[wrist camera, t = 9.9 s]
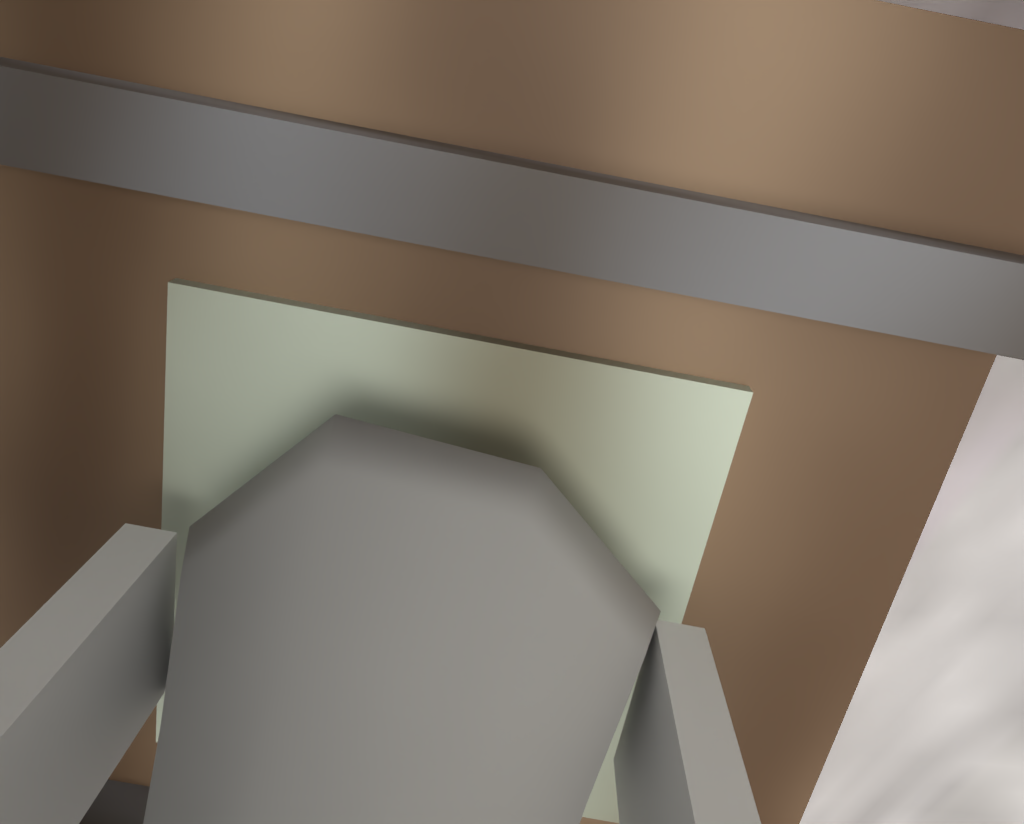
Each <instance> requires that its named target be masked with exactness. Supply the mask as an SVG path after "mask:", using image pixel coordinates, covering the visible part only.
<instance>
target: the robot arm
mask: <svg viewBox="0 0 1024 824" xmlns="http://www.w3.org/2000/svg"><path fill="white" fill-rule="evenodd" d="M176 550H177V532H171V531H166V530H160V529H155V528H149V527H144V526H138V525H133V524H127V523H125V524H124V525H123V526H122V527H121V528H120V529H119V530H118V531H117V532H116V533H115V534H114V535H113V536H112V537H111V538H110V539H109V540H108V541H107V542H106V543H105V544H104V545H103V546H102V547H101V548H100V549H99V550H98V551H97V552H96V553H95V554H94V555H93V556H92V557H91V558H90V559H89V560H88V561H87V562H86V563H85V564H84V565H83V566H82V567H81V568H80V569H79V570H78V571H77V572H76V573H75V574H74V575H73V576H72V577H71V578H70V579H69V580H68V581H67V582H66V583H65V584H64V585H63V586H62V587H61V588H60V589H59V590H58V591H57V592H56V593H55V594H54V595H53V596H52V597H51V598H50V599H49V600H48V601H47V602H46V603H45V604H44V605H43V606H42V607H41V608H40V609H39V610H38V611H37V612H36V613H35V614H34V615H33V616H32V617H31V618H30V619H29V620H28V621H27V622H26V623H25V624H24V625H23V626H22V627H21V628H20V629H19V630H18V631H17V632H16V633H15V634H14V635H13V636H12V637H11V638H10V639H9V640H8V641H7V642H6V643H5V644H4V645H3V646H2V647H1V648H0V824H79V823H80V822H81V820H82V818H83V817H84V815H85V814H86V812H87V811H88V809H89V808H90V806H91V805H92V803H93V802H94V800H95V798H96V797H97V795H98V794H99V792H100V791H101V789H102V788H103V786H104V785H105V783H106V782H107V780H108V778H109V777H110V775H111V774H112V772H113V771H114V769H115V768H116V766H117V765H118V763H119V762H120V760H121V758H122V757H123V755H124V754H125V752H126V751H127V749H128V748H129V746H130V745H131V743H132V742H133V740H134V739H135V737H136V735H137V734H138V732H139V731H140V729H141V728H142V726H143V725H144V723H145V722H146V720H147V719H148V717H149V715H150V714H151V712H152V711H153V709H154V708H155V706H156V705H157V703H158V702H159V700H160V699H161V697H162V695H163V694H164V692H165V689H166V681H167V674H168V666H169V659H170V652H171V644H172V637H173V629H174V607H175V579H176ZM614 770H615V781H616V792H617V802H618V813H619V824H761V821H760V818H759V814H758V811H757V807H756V804H755V800H754V797H753V793H752V790H751V787H750V783H749V780H748V776H747V773H746V769H745V766H744V762H743V759H742V755H741V752H740V748H739V745H738V741H737V738H736V735H735V731H734V728H733V724H732V721H731V717H730V714H729V710H728V707H727V703H726V700H725V696H724V693H723V689H722V686H721V683H720V679H719V676H718V672H717V669H716V665H715V662H714V658H713V655H712V651H711V648H710V644H709V641H708V637H707V634H706V631H705V628H700V627H695V626H689V625H684V624H678V623H673V622H667V621H662V620H657V623H656V626H655V629H654V632H653V635H652V638H651V641H650V643H649V646H648V649H647V652H646V655H645V658H644V660H643V663H642V665H641V668H640V671H639V675H638V678H637V681H636V685H635V688H634V692H633V695H632V698H631V702H630V705H629V708H628V712H627V715H626V719H625V722H624V725H623V729H622V732H621V735H620V739H619V742H618V746H617V749H616V752H615V756H614Z"/></svg>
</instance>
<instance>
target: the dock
mask: <svg viewBox="0 0 1024 824" xmlns="http://www.w3.org/2000/svg"><path fill="white" fill-rule="evenodd" d="M996 355H1001V356H1006V357H1011V358H1016V359H1022V360H1024V30H1021V29H1016V28H1011V27H1006V26H1001V25H996V24H991V23H987V22H982V21H977V20H972V19H967V18H962V17H957V16H952V15H947V14H942V13H937V12H932V11H927V10H922V9H917V8H912V7H907V6H902V5H897V4H892V3H887V2H882V1H877V0H0V648H1V647H2V646H3V645H4V644H5V643H6V642H7V641H8V640H9V639H10V638H11V637H12V636H13V635H14V634H15V633H16V632H17V631H18V630H19V629H20V628H21V627H22V626H23V625H24V624H25V623H26V622H27V621H28V620H29V619H30V618H31V617H32V616H33V615H34V614H35V613H36V612H37V611H38V610H39V609H40V608H41V607H42V606H43V605H44V604H45V603H46V602H47V601H48V600H49V599H50V598H51V597H52V596H53V595H54V594H55V593H56V592H57V591H58V590H59V589H60V588H61V587H62V586H63V585H64V584H65V583H66V582H67V581H68V580H69V579H70V578H71V577H72V576H73V575H74V574H75V573H76V572H77V571H78V570H79V569H80V568H81V567H82V566H83V565H84V564H85V563H86V562H87V561H88V560H89V559H90V558H91V557H92V556H93V555H94V554H95V553H96V552H97V551H98V550H99V549H100V548H101V547H102V546H103V545H104V544H105V543H106V542H107V541H108V540H109V539H110V538H111V537H112V536H113V535H114V534H115V533H116V532H117V531H118V530H119V529H120V528H121V527H122V526H123V525H124V524H125V523H127V524H133V525H138V526H144V527H149V528H155V529H160V530H166V531H171V532H177V550H176V579H175V607H174V622H175V615H176V607H177V600H178V592H179V585H180V578H181V571H182V566H183V560H184V554H185V549H186V543H187V538H188V532H189V527H190V526H191V525H192V524H193V523H195V522H196V521H197V520H199V519H200V518H201V517H203V516H204V515H205V514H206V513H208V512H209V511H210V510H212V509H213V508H214V507H215V506H217V505H218V504H219V503H221V502H222V501H223V500H225V499H226V498H227V497H228V496H230V495H231V494H232V493H234V492H235V491H236V490H238V489H239V488H240V487H241V486H243V485H244V484H245V483H247V482H248V481H249V480H251V479H252V478H253V477H254V476H256V475H257V474H258V473H260V472H261V471H262V470H264V469H265V468H266V467H267V466H269V465H270V464H271V463H273V462H274V461H275V460H277V459H278V458H279V457H280V456H282V455H283V454H284V453H286V452H287V451H288V450H290V449H291V448H292V447H293V446H295V445H296V444H297V443H299V442H300V441H301V440H303V439H304V438H305V437H306V436H308V435H309V434H310V433H312V432H313V431H314V430H315V429H317V428H318V427H319V426H321V425H322V424H323V423H325V422H326V421H327V420H328V419H330V418H331V417H332V416H334V415H335V414H337V415H340V416H344V417H348V418H352V419H356V420H359V421H363V422H367V423H371V424H375V425H378V426H382V427H386V428H390V429H394V430H397V431H401V432H405V433H409V434H413V435H416V436H420V437H424V438H428V439H432V440H436V441H439V442H443V443H447V444H451V445H455V446H458V447H462V448H466V449H470V450H474V451H477V452H481V453H485V454H489V455H493V456H496V457H500V458H504V459H508V460H512V461H515V462H519V463H523V464H527V465H531V466H534V467H538V468H541V469H542V470H543V471H544V472H545V474H546V475H547V476H548V477H549V478H550V480H551V481H552V482H553V483H554V484H555V486H556V487H557V488H558V489H559V490H560V492H561V493H562V494H563V495H564V496H565V498H566V499H567V500H568V501H569V502H570V503H571V505H572V506H573V507H574V508H575V509H576V511H577V512H578V513H579V514H580V515H581V517H582V518H583V519H584V520H585V521H586V523H587V524H588V525H589V526H590V527H591V529H592V530H593V531H594V532H595V533H596V534H597V536H598V537H599V538H600V539H601V540H602V542H603V543H604V544H605V545H606V546H607V548H608V549H609V550H610V551H611V552H612V554H613V555H614V556H615V557H616V558H617V560H618V561H619V562H620V563H621V564H622V565H623V567H624V568H625V569H626V570H627V571H628V573H629V574H630V575H631V576H632V577H633V579H634V580H635V581H636V582H637V583H638V585H639V586H640V587H641V588H642V589H643V591H644V592H645V593H646V594H647V595H648V596H649V598H650V599H651V600H652V601H653V602H654V604H655V605H656V606H657V607H658V608H659V610H660V611H661V612H660V615H659V618H658V620H662V621H667V622H673V623H678V624H684V625H689V626H695V627H700V628H705V631H706V634H707V637H708V641H709V644H710V648H711V651H712V655H713V658H714V662H715V665H716V669H717V672H718V676H719V679H720V683H721V686H722V689H723V693H724V696H725V700H726V703H727V707H728V710H729V714H730V717H731V721H732V724H733V728H734V731H735V735H736V738H737V741H738V745H739V748H740V752H741V755H742V759H743V762H744V766H745V769H746V773H747V776H748V780H749V783H750V787H751V790H752V793H753V797H754V800H755V804H756V807H757V811H758V814H759V818H760V821H761V824H799V823H800V820H801V818H802V816H803V813H804V811H805V809H806V806H807V804H808V801H809V799H810V797H811V794H812V792H813V790H814V787H815V785H816V782H817V780H818V778H819V775H820V773H821V771H822V768H823V766H824V763H825V761H826V759H827V756H828V754H829V752H830V749H831V747H832V744H833V742H834V740H835V737H836V735H837V733H838V730H839V728H840V725H841V723H842V721H843V718H844V716H845V714H846V711H847V709H848V706H849V704H850V702H851V699H852V697H853V695H854V692H855V690H856V687H857V685H858V683H859V680H860V678H861V676H862V673H863V671H864V668H865V666H866V664H867V661H868V659H869V657H870V654H871V652H872V649H873V647H874V645H875V642H876V640H877V638H878V635H879V633H880V630H881V628H882V626H883V623H884V621H885V619H886V616H887V614H888V612H889V609H890V607H891V604H892V602H893V600H894V597H895V595H896V593H897V590H898V588H899V585H900V583H901V581H902V578H903V576H904V574H905V571H906V569H907V566H908V564H909V562H910V559H911V557H912V555H913V552H914V550H915V547H916V545H917V543H918V540H919V538H920V536H921V533H922V531H923V528H924V526H925V524H926V521H927V519H928V517H929V514H930V512H931V509H932V507H933V505H934V502H935V500H936V498H937V495H938V493H939V490H940V488H941V486H942V483H943V481H944V479H945V476H946V474H947V471H948V469H949V467H950V464H951V462H952V460H953V457H954V455H955V452H956V450H957V448H958V445H959V443H960V441H961V438H962V436H963V433H964V431H965V429H966V426H967V424H968V422H969V419H970V417H971V414H972V412H973V410H974V407H975V405H976V403H977V400H978V398H979V396H980V393H981V391H982V388H983V386H984V384H985V381H986V379H987V377H988V374H989V372H990V369H991V367H992V365H993V362H994V360H995V358H996ZM639 671H640V670H639ZM638 675H639V673H638ZM638 675H637V678H638ZM637 678H636V680H635V683H634V685H633V688H632V690H631V693H630V695H629V698H628V701H627V703H626V706H625V708H624V711H623V713H622V716H621V718H620V721H619V723H618V726H617V728H616V731H615V733H614V736H613V738H612V741H611V743H610V746H609V748H608V751H607V754H606V756H605V759H604V761H603V764H602V766H601V769H600V771H599V774H598V776H597V779H596V781H595V784H594V786H593V789H592V791H591V794H590V796H589V799H588V802H587V804H586V807H585V810H584V813H583V816H582V818H581V821H580V824H619V813H618V802H617V792H616V781H615V770H614V756H615V752H616V749H617V746H618V742H619V739H620V735H621V732H622V729H623V725H624V722H625V719H626V715H627V712H628V708H629V705H630V702H631V698H632V695H633V692H634V688H635V685H636V681H637ZM164 696H165V692H164V694H163V695H162V697H161V699H160V700H159V702H158V703H157V705H156V706H155V708H154V709H153V711H152V712H151V714H150V715H149V717H148V719H147V720H146V722H145V723H144V725H143V726H142V728H141V729H140V731H139V732H138V734H137V735H136V737H135V739H134V740H133V742H132V743H131V745H130V746H129V748H128V749H127V751H126V752H125V754H124V755H123V757H122V758H121V760H120V762H119V763H118V765H117V766H116V768H115V769H114V771H113V772H112V774H111V775H110V777H109V778H108V780H107V782H106V783H105V785H104V786H103V788H102V789H101V791H100V792H99V794H98V795H97V797H96V798H95V800H94V802H93V803H92V805H91V806H90V808H89V809H88V811H87V812H86V814H85V815H84V817H83V818H82V820H81V822H80V823H79V824H143V822H144V816H145V811H146V805H147V799H148V794H149V788H150V783H151V777H152V771H153V766H154V760H155V755H156V749H157V743H158V738H159V732H160V726H161V718H162V711H163V703H164Z"/></svg>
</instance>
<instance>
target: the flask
mask: <svg viewBox="0 0 1024 824" xmlns="http://www.w3.org/2000/svg"><path fill="white" fill-rule="evenodd" d="M660 612H661V611H660V610H659V608H658V607H657V606H656V605H655V604H654V602H653V601H652V600H651V599H650V598H649V596H648V595H647V594H646V593H645V592H644V591H643V589H642V588H641V587H640V586H639V585H638V583H637V582H636V581H635V580H634V579H633V577H632V576H631V575H630V574H629V573H628V571H627V570H626V569H625V568H624V567H623V565H622V564H621V563H620V562H619V561H618V560H617V558H616V557H615V556H614V555H613V554H612V552H611V551H610V550H609V549H608V548H607V546H606V545H605V544H604V543H603V542H602V540H601V539H600V538H599V537H598V536H597V534H596V533H595V532H594V531H593V530H592V529H591V527H590V526H589V525H588V524H587V523H586V521H585V520H584V519H583V518H582V517H581V515H580V514H579V513H578V512H577V511H576V509H575V508H574V507H573V506H572V505H571V503H570V502H569V501H568V500H567V499H566V498H565V496H564V495H563V494H562V493H561V492H560V490H559V489H558V488H557V487H556V486H555V484H554V483H553V482H552V481H551V480H550V478H549V477H548V476H547V475H546V474H545V472H544V471H543V470H542V469H541V468H538V467H534V466H531V465H527V464H523V463H519V462H515V461H512V460H508V459H504V458H500V457H496V456H493V455H489V454H485V453H481V452H477V451H474V450H470V449H466V448H462V447H458V446H455V445H451V444H447V443H443V442H439V441H436V440H432V439H428V438H424V437H420V436H416V435H413V434H409V433H405V432H401V431H397V430H394V429H390V428H386V427H382V426H378V425H375V424H371V423H367V422H363V421H359V420H356V419H352V418H348V417H344V416H340V415H337V414H335V415H334V416H332V417H331V418H330V419H328V420H327V421H326V422H325V423H323V424H322V425H321V426H319V427H318V428H317V429H315V430H314V431H313V432H312V433H310V434H309V435H308V436H306V437H305V438H304V439H303V440H301V441H300V442H299V443H297V444H296V445H295V446H293V447H292V448H291V449H290V450H288V451H287V452H286V453H284V454H283V455H282V456H280V457H279V458H278V459H277V460H275V461H274V462H273V463H271V464H270V465H269V466H267V467H266V468H265V469H264V470H262V471H261V472H260V473H258V474H257V475H256V476H254V477H253V478H252V479H251V480H249V481H248V482H247V483H245V484H244V485H243V486H241V487H240V488H239V489H238V490H236V491H235V492H234V493H232V494H231V495H230V496H228V497H227V498H226V499H225V500H223V501H222V502H221V503H219V504H218V505H217V506H215V507H214V508H213V509H212V510H210V511H209V512H208V513H206V514H205V515H204V516H203V517H201V518H200V519H199V520H197V521H196V522H195V523H193V524H192V525H191V526H190V527H189V532H188V538H187V543H186V549H185V554H184V560H183V566H182V571H181V578H180V585H179V592H178V600H177V607H176V615H175V622H174V629H173V637H172V644H171V652H170V659H169V666H168V674H167V681H166V689H165V696H164V703H163V711H162V718H161V726H160V732H159V738H158V743H157V749H156V755H155V760H154V766H153V771H152V777H151V783H150V788H149V794H148V799H147V805H146V811H145V816H144V822H143V824H580V821H581V818H582V816H583V813H584V810H585V807H586V804H587V802H588V799H589V796H590V794H591V791H592V789H593V786H594V784H595V781H596V779H597V776H598V774H599V771H600V769H601V766H602V764H603V761H604V759H605V756H606V754H607V751H608V748H609V746H610V743H611V741H612V738H613V736H614V733H615V731H616V728H617V726H618V723H619V721H620V718H621V716H622V713H623V711H624V708H625V706H626V703H627V701H628V698H629V695H630V693H631V690H632V688H633V685H634V683H635V680H636V678H637V675H638V673H639V670H640V668H641V665H642V663H643V660H644V658H645V655H646V652H647V649H648V646H649V643H650V641H651V638H652V635H653V632H654V629H655V626H656V623H657V620H658V618H659V615H660Z"/></svg>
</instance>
